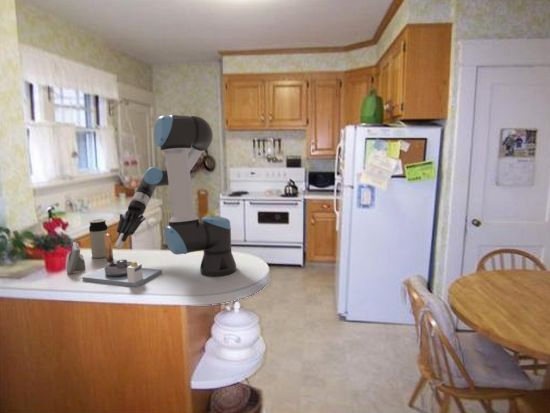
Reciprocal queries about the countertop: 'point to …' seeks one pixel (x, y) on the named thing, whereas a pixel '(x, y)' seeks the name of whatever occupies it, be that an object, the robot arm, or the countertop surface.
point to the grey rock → (75, 260)
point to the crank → (114, 261)
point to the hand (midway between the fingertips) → (117, 247)
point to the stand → (133, 277)
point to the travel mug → (98, 237)
